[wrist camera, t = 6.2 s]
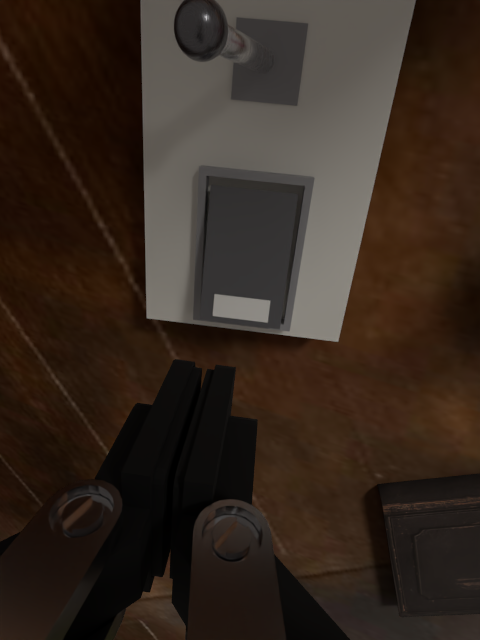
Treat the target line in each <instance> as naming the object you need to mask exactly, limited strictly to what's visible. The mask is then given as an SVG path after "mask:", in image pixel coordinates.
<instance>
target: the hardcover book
mask: <svg viewBox="0 0 480 640" xmlns="http://www.w3.org/2000/svg"><path fill="white" fill-rule="evenodd" d="M377 486H378V489H379V493H380V497H381V501H382V508H383V514H384V521H385V527H386V533H387V540H388V546H389V553H390V559H391V566H392V572H393V578H394V585H395V591H396V598H397V604H398V611H399V616H400V617H414V616H440V615H465V614H480V474H471V475H462V476H452V477H442V478H433V479H423V480H414V481H404V482H394V483H385V484H378V485H377Z"/></svg>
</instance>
